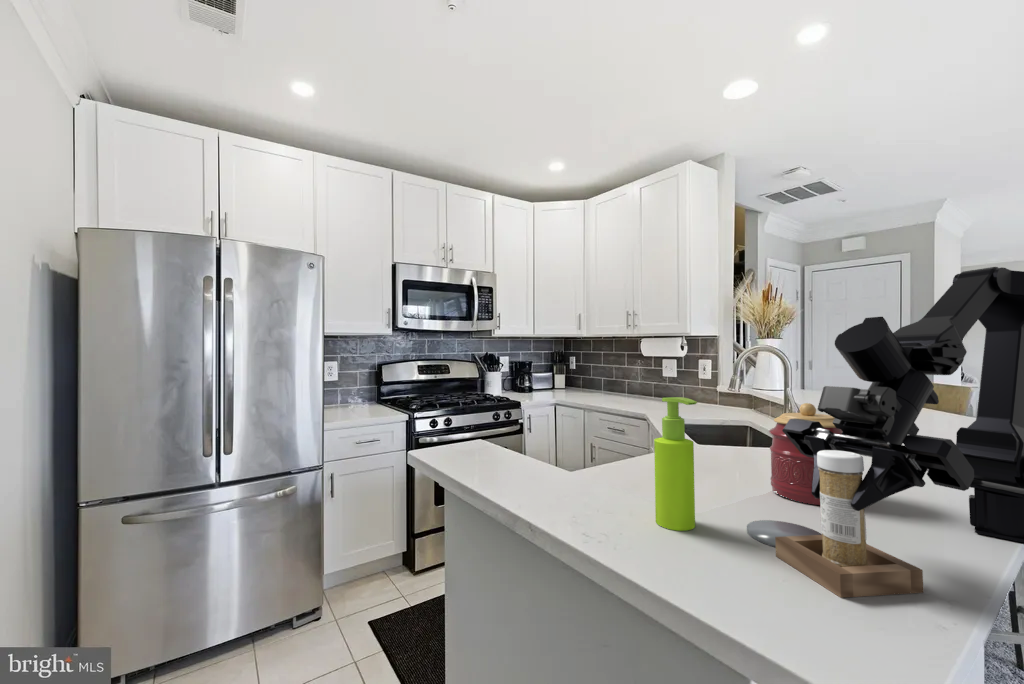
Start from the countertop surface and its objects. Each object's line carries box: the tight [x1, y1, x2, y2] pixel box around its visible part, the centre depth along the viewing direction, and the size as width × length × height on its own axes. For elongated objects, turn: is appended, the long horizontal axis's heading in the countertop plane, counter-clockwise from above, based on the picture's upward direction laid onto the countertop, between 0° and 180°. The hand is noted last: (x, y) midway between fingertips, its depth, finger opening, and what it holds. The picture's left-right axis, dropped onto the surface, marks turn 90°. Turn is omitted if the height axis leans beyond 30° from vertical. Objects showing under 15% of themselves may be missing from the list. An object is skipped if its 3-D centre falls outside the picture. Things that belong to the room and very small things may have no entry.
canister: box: [768, 402, 842, 506], centre depth 82 cm, size 13×13×18 cm
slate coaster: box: [746, 519, 822, 548], centre depth 63 cm, size 10×10×1 cm
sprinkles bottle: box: [817, 450, 868, 567], centre depth 53 cm, size 5×5×14 cm
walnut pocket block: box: [775, 535, 924, 599], centre depth 52 cm, size 10×10×2 cm
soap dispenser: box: [653, 396, 698, 532], centre depth 68 cm, size 6×7×20 cm
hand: (833, 502), depth 52 cm, fingers closed on sprinkles bottle, 4 cm apart
